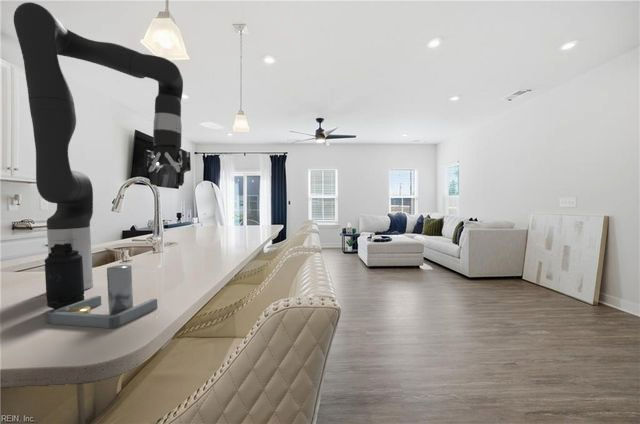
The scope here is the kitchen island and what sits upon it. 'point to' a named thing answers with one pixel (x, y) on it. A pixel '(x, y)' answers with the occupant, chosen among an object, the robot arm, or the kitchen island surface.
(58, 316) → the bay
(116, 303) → the post
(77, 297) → the black shouldered canister
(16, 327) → the kitchen island surface
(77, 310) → the washer
